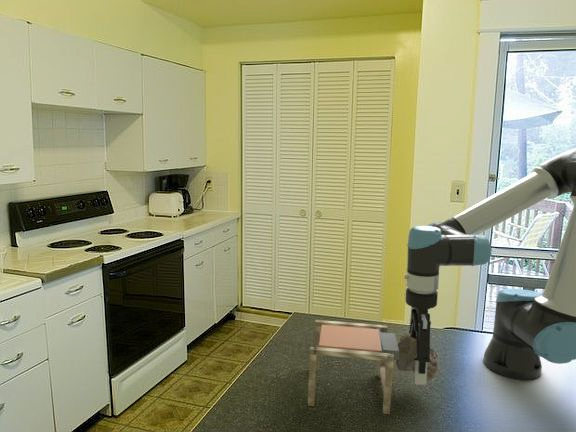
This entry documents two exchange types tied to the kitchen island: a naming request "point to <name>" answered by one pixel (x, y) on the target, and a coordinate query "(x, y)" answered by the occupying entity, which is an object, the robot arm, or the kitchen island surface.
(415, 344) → the rock
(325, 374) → the kitchen island surface
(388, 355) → the frame
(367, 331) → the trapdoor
